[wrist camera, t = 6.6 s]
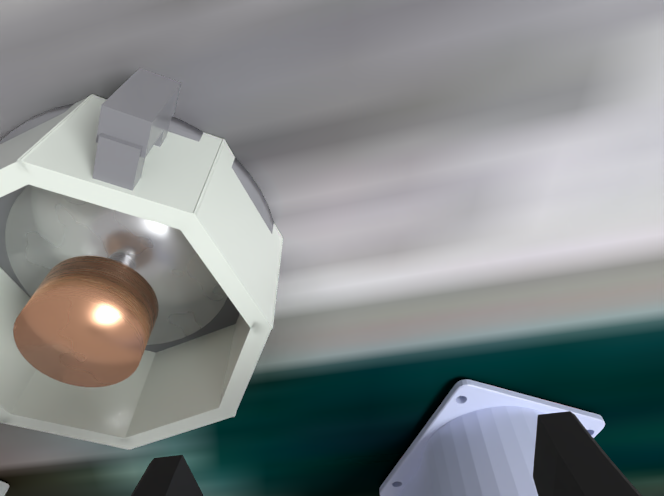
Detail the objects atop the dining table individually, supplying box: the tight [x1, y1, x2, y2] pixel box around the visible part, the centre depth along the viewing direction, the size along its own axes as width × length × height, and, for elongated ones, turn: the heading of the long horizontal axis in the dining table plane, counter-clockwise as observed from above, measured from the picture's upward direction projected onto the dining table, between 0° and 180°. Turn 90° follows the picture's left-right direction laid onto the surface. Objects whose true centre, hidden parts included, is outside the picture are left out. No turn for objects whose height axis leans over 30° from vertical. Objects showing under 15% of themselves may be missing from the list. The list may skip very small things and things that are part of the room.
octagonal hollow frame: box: [0, 68, 283, 450], centre depth 18 cm, size 12×11×5 cm
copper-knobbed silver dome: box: [5, 185, 228, 387], centre depth 18 cm, size 8×8×5 cm
